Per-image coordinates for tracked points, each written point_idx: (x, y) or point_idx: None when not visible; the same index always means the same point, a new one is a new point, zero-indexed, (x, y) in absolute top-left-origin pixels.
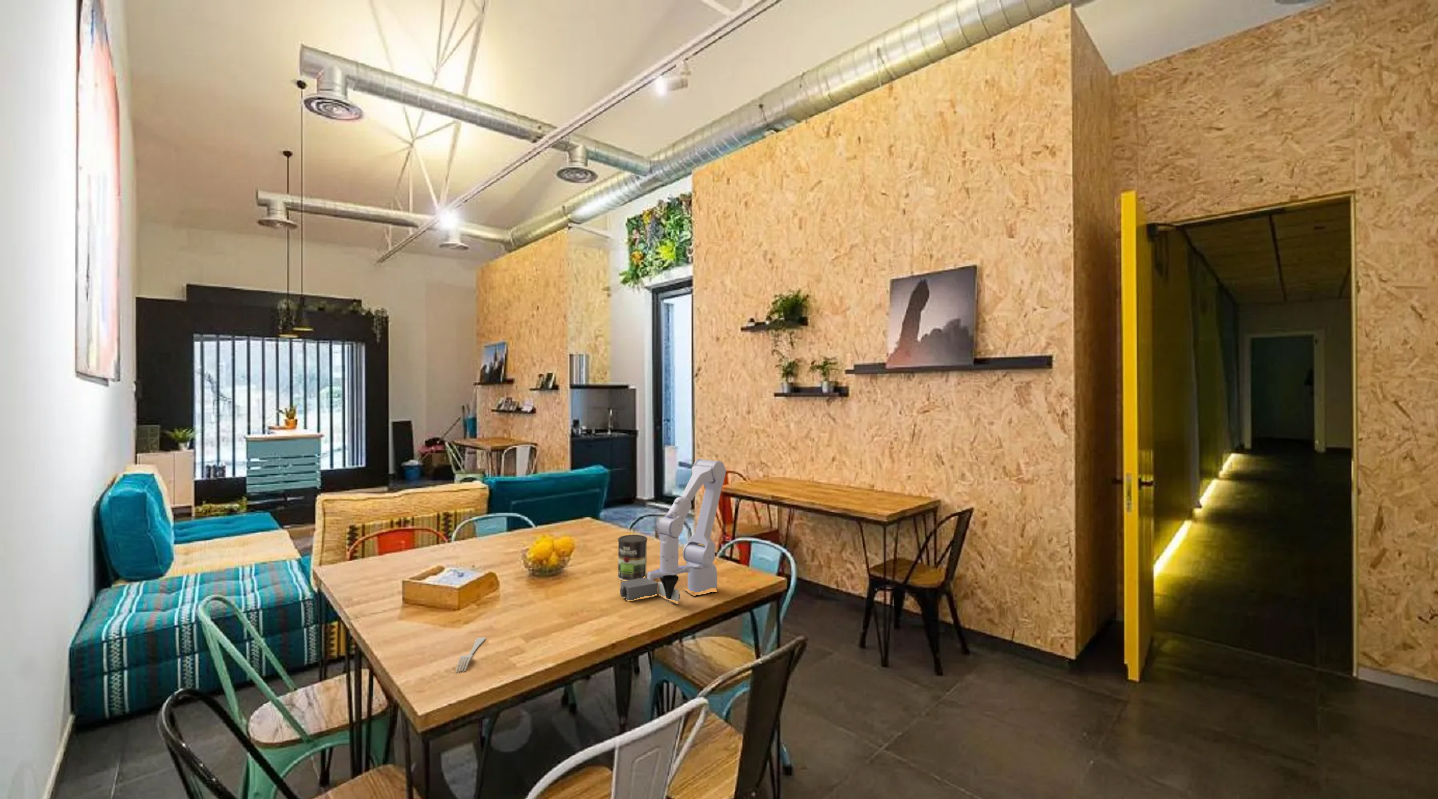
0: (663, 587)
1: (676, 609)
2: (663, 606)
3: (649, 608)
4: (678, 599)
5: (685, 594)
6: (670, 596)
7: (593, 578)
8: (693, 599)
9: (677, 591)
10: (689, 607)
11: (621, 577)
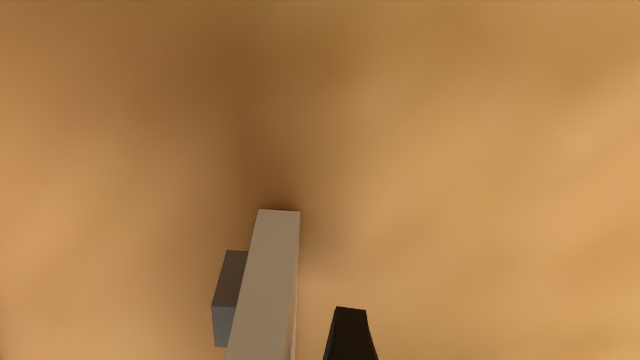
0: None
1: (392, 111)
2: (435, 269)
3: (582, 315)
4: (257, 250)
5: (32, 343)
6: (355, 336)
7: None
8: (6, 210)
9: (259, 354)
10: (195, 44)
11: None
